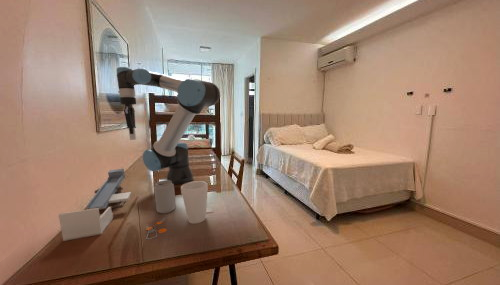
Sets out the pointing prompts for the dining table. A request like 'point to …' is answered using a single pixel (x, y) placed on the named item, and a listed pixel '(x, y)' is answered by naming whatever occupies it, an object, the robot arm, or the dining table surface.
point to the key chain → (155, 230)
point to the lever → (109, 191)
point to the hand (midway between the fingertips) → (133, 139)
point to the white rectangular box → (84, 223)
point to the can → (164, 196)
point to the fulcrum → (114, 204)
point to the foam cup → (195, 200)
